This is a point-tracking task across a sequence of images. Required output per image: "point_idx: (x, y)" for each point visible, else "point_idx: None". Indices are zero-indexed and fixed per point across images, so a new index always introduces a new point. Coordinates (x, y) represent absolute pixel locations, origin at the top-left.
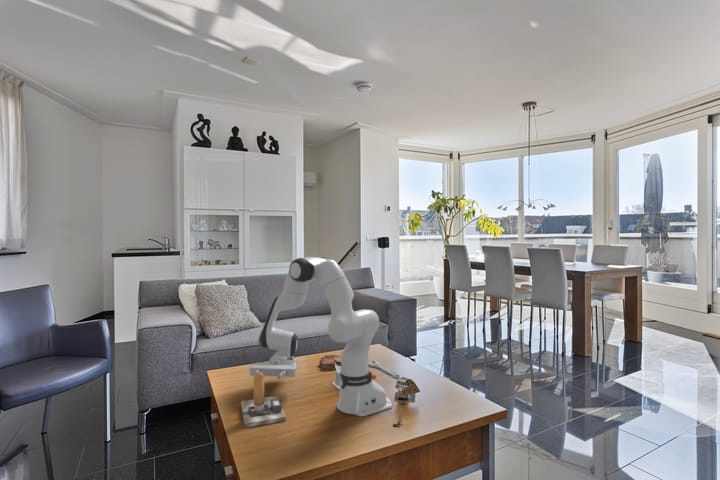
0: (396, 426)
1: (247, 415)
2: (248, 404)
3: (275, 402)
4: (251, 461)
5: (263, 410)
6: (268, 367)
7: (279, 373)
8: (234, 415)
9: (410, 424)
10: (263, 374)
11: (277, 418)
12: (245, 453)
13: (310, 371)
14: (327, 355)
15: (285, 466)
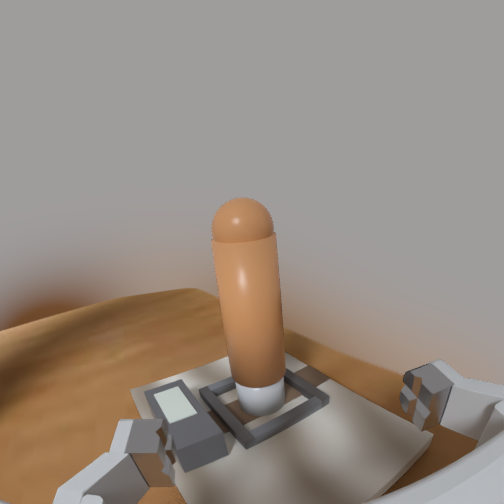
0: None
1: (292, 370)
2: (364, 429)
3: (179, 406)
4: (189, 298)
5: (238, 400)
6: (439, 496)
7: (143, 445)
8: (367, 385)
9: None
10: (215, 221)
11: (160, 381)
12: (209, 305)
13: None
14: None
15: (127, 302)
